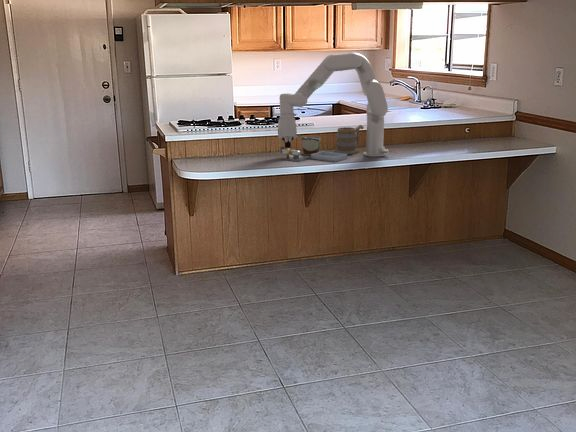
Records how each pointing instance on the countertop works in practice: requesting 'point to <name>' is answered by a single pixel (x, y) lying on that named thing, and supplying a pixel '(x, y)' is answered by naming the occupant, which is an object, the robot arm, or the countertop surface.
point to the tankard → (348, 140)
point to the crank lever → (290, 152)
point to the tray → (329, 156)
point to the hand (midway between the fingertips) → (287, 148)
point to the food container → (310, 144)
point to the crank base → (297, 159)
